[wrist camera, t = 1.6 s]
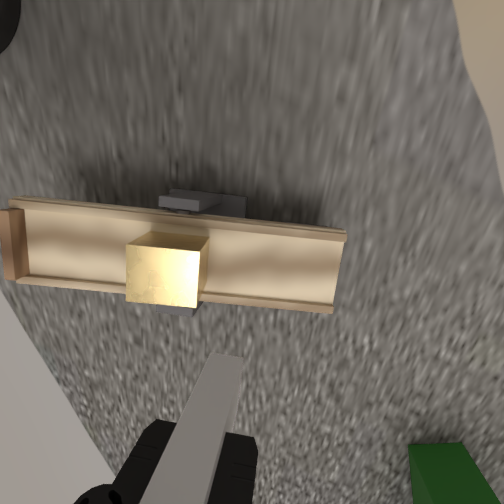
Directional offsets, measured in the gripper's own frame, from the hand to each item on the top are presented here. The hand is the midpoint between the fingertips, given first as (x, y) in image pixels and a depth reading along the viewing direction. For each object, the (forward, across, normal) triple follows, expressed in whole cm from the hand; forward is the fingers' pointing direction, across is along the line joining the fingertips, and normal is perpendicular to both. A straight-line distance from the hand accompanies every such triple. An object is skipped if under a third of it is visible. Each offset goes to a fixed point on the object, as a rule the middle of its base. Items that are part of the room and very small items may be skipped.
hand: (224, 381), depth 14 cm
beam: (+23, -9, 0) cm, 24 cm away
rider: (+17, -9, 0) cm, 19 cm away
